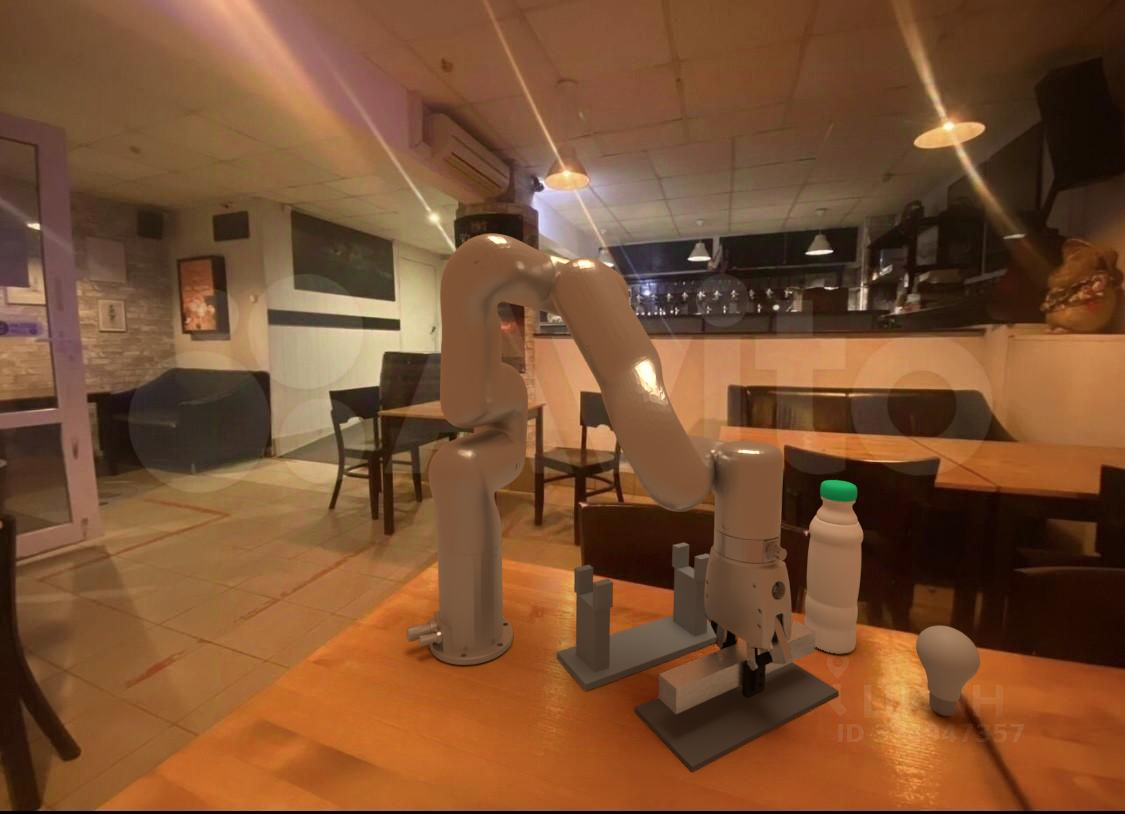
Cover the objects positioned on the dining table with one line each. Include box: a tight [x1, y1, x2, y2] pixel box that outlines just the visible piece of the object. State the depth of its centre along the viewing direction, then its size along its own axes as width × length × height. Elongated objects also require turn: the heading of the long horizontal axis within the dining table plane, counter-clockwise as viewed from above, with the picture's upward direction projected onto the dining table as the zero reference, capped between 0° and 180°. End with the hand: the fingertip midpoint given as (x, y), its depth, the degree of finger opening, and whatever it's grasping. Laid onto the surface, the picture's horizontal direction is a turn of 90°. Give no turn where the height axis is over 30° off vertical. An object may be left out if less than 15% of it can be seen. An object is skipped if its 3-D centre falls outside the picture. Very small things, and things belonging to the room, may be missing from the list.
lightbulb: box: [915, 625, 981, 717], centre depth 60 cm, size 6×6×11 cm
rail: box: [658, 620, 816, 714], centre depth 62 cm, size 24×3×3 cm, turn 118°
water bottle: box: [803, 479, 864, 655], centre depth 74 cm, size 7×7×25 cm
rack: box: [556, 542, 716, 692], centre depth 73 cm, size 25×8×14 cm, turn 118°
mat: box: [634, 662, 840, 773], centre depth 62 cm, size 25×10×1 cm, turn 118°
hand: (741, 683), depth 62 cm, fingers closed on rail, 3 cm apart
